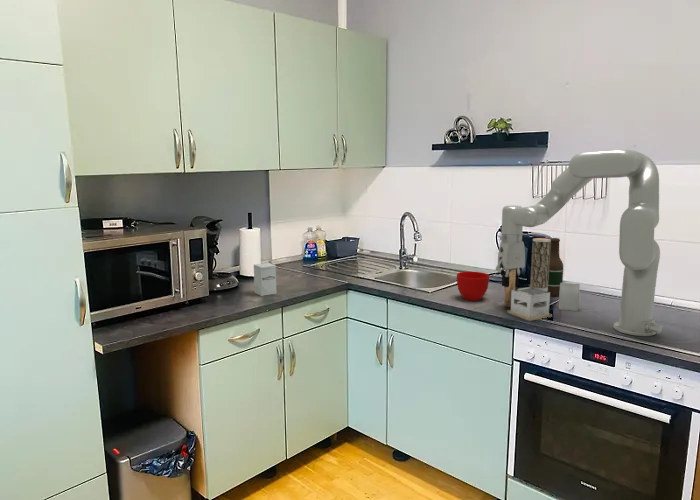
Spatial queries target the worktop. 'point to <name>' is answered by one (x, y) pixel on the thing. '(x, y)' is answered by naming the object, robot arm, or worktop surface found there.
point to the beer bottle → (555, 269)
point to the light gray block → (569, 296)
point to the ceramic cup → (472, 284)
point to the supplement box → (265, 279)
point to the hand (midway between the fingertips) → (509, 285)
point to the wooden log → (540, 263)
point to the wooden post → (509, 289)
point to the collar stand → (530, 303)
